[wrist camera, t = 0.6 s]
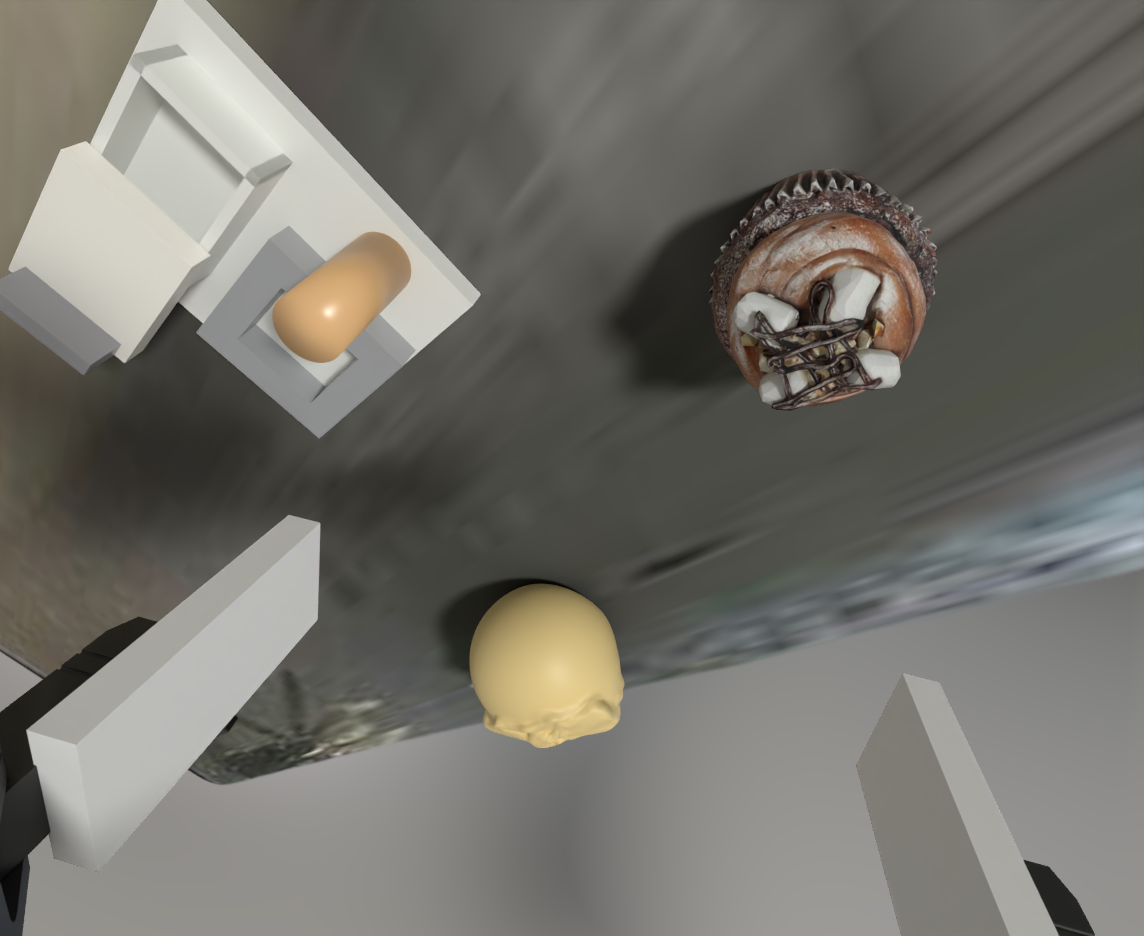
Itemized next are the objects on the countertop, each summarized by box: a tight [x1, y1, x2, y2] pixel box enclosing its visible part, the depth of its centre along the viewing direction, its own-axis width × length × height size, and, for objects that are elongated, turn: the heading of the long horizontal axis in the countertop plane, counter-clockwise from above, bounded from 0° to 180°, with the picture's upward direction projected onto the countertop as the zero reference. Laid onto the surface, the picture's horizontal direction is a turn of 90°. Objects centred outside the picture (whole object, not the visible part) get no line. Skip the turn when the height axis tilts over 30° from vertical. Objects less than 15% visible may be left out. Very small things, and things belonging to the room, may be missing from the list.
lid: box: [0, 141, 211, 375], centre depth 36 cm, size 10×7×4 cm
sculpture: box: [470, 584, 624, 748], centre depth 53 cm, size 12×12×11 cm
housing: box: [90, 0, 481, 438], centre depth 37 cm, size 16×20×10 cm
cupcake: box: [708, 169, 937, 411], centre depth 30 cm, size 10×10×10 cm
